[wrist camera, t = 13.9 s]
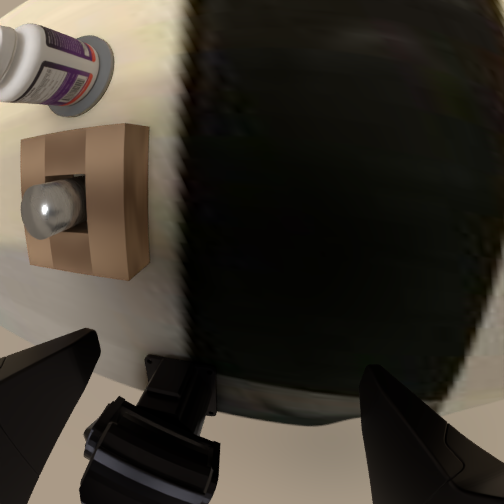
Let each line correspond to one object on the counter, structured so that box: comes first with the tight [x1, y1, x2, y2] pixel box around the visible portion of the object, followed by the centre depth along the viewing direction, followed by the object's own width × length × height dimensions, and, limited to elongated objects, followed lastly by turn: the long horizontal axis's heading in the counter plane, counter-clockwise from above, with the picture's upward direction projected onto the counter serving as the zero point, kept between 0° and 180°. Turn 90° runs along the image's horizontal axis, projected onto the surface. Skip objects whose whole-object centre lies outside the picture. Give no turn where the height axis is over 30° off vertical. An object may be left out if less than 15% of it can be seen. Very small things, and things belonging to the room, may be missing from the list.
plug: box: [21, 175, 87, 240], centre depth 17 cm, size 3×3×6 cm
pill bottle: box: [0, 23, 99, 106], centre depth 13 cm, size 5×5×10 cm
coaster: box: [48, 36, 114, 117], centre depth 17 cm, size 7×7×1 cm
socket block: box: [21, 123, 150, 281], centre depth 19 cm, size 10×10×4 cm
